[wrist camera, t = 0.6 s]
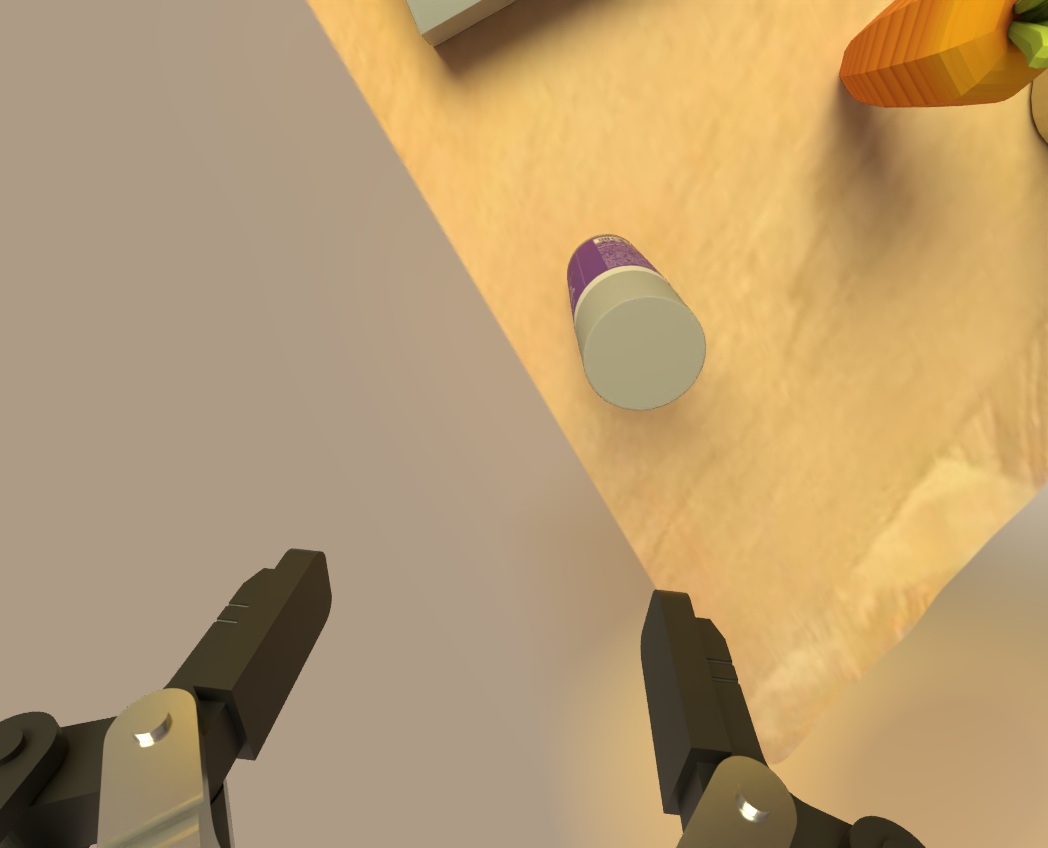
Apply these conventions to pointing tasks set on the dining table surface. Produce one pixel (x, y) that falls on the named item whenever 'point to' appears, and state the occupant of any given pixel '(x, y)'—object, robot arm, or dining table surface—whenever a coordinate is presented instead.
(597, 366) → the container
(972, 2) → the carrot
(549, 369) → the dining table surface
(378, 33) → the dining table surface
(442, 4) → the open tray
